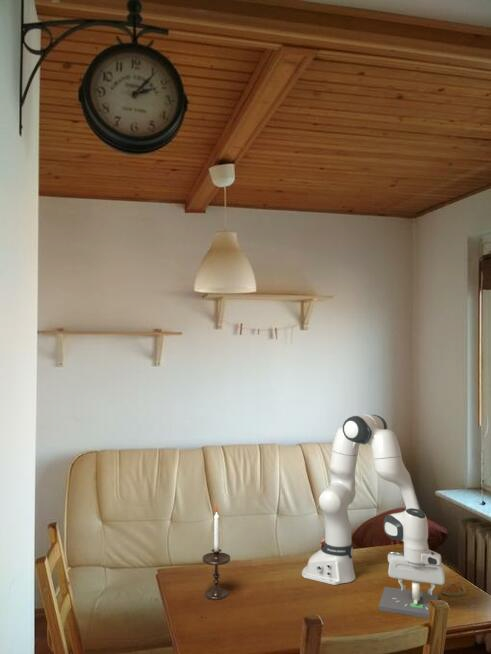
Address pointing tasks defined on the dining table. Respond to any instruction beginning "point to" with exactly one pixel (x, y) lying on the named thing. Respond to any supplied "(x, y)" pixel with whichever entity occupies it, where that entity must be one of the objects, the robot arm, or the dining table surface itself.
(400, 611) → the dial plate
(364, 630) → the dining table surface
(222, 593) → the candlestick
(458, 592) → the pastry
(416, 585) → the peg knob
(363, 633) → the dining table surface
